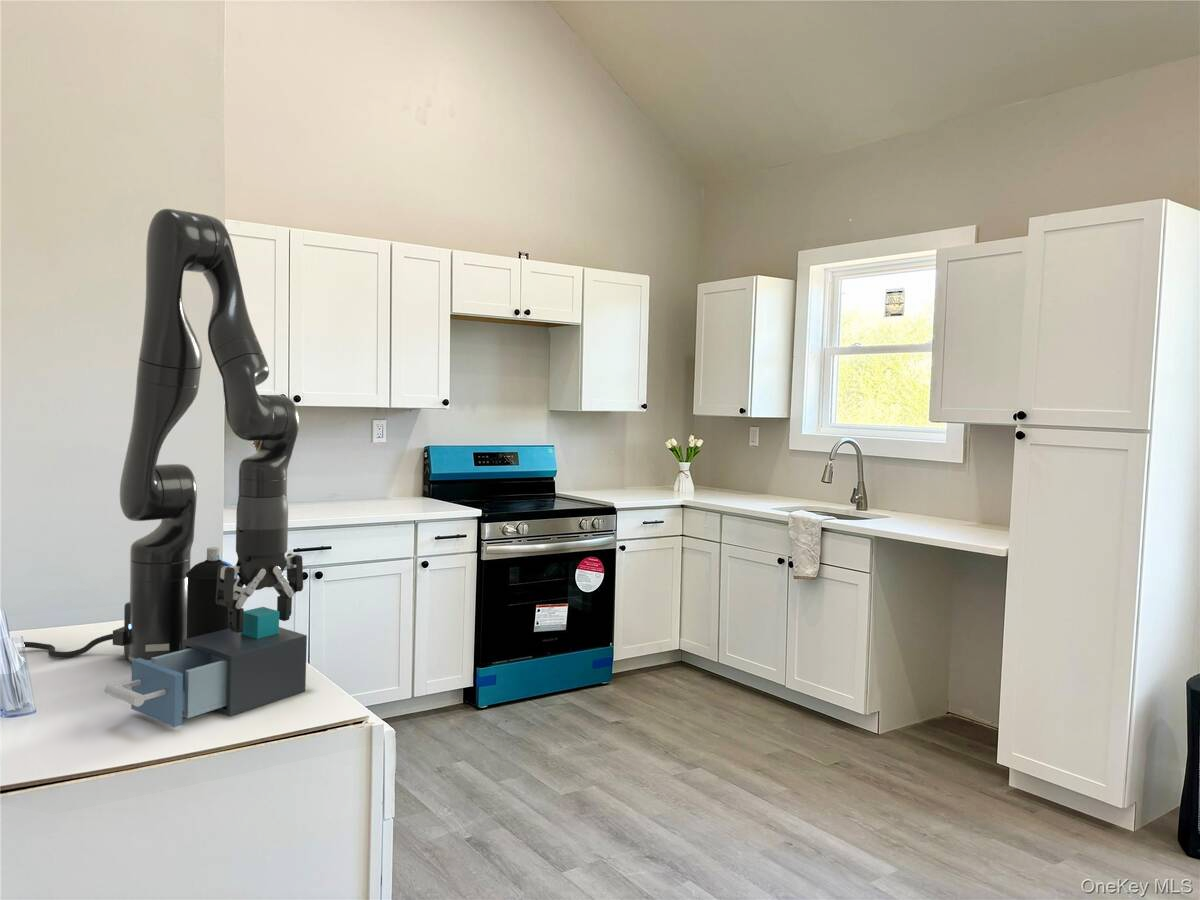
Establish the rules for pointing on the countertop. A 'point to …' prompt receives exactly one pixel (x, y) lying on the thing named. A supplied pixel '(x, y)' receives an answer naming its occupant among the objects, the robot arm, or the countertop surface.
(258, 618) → the teal cube
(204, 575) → the aerosol can
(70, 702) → the countertop surface
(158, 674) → the blue drawer
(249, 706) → the dark grey drawer cabinet
